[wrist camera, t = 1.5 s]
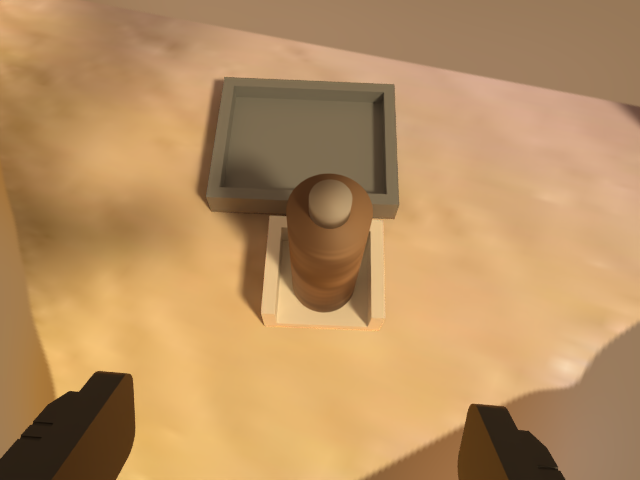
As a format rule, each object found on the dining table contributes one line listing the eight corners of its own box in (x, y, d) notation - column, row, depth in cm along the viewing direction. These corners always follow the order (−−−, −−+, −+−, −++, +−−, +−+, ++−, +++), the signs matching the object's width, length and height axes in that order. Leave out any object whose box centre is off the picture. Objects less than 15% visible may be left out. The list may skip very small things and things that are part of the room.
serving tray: (390, 102, 48) (394, 84, 46) (394, 219, 43) (399, 204, 40) (228, 95, 48) (224, 77, 46) (211, 211, 42) (205, 197, 40)
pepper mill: (355, 254, 40) (375, 161, 28) (354, 313, 38) (376, 241, 26) (294, 252, 40) (288, 158, 28) (290, 311, 38) (282, 237, 26)
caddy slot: (377, 238, 42) (383, 220, 39) (379, 330, 38) (385, 318, 35) (272, 234, 42) (269, 215, 38) (264, 326, 38) (260, 313, 35)
